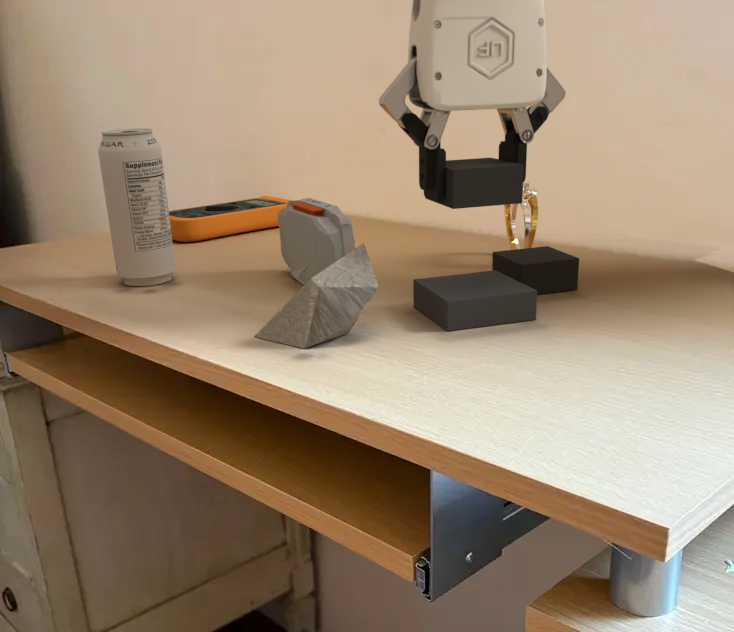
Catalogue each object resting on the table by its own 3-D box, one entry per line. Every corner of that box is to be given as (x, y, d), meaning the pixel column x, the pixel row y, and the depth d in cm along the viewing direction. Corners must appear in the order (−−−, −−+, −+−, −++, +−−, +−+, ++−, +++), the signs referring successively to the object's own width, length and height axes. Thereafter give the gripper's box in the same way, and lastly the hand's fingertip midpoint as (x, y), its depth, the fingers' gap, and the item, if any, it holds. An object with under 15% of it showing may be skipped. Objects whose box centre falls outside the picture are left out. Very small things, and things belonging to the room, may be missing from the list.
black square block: (490, 193, 71) (491, 157, 70) (522, 203, 66) (523, 164, 65) (425, 198, 70) (425, 161, 69) (452, 209, 65) (453, 169, 63)
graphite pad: (546, 275, 83) (547, 245, 82) (577, 289, 77) (579, 257, 76) (491, 282, 81) (492, 251, 80) (519, 296, 76) (520, 264, 75)
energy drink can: (156, 270, 91) (136, 127, 85) (188, 278, 87) (170, 129, 81) (107, 282, 87) (83, 132, 81) (138, 290, 83) (116, 134, 77)
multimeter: (152, 237, 109) (148, 210, 108) (266, 218, 120) (264, 193, 118) (183, 246, 103) (179, 218, 102) (301, 225, 114) (299, 199, 112)
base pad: (494, 296, 76) (495, 269, 75) (536, 319, 69) (537, 290, 68) (413, 306, 74) (412, 279, 73) (447, 331, 67) (447, 301, 66)
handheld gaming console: (361, 296, 78) (357, 210, 75) (333, 301, 77) (328, 214, 74) (301, 267, 90) (296, 192, 87) (276, 271, 89) (270, 195, 86)
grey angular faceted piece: (270, 348, 61) (217, 292, 67) (306, 396, 66) (253, 340, 72) (393, 246, 62) (330, 200, 68) (420, 301, 67) (358, 254, 73)
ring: (497, 252, 93) (498, 179, 90) (525, 251, 93) (527, 178, 90) (512, 266, 87) (514, 188, 84) (542, 264, 87) (545, 187, 84)
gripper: (381, -62, 55) (387, 211, 62) (608, -60, 60) (589, 194, 67) (350, -48, 62) (358, 197, 69) (556, -47, 67) (544, 183, 73)
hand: (472, 193), depth 68 cm, fingers closed on black square block, 6 cm apart
